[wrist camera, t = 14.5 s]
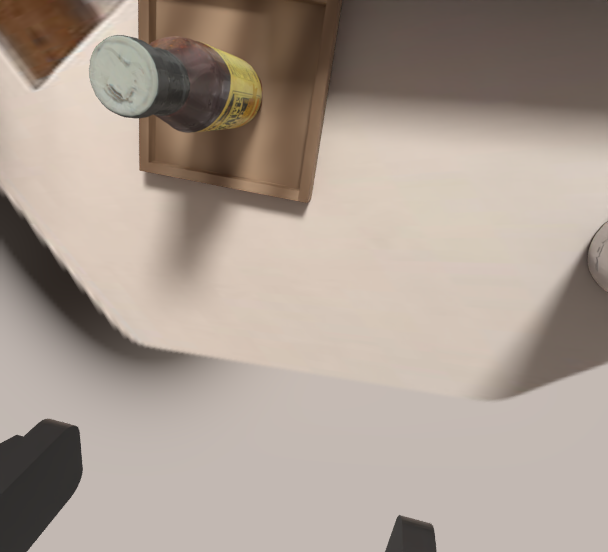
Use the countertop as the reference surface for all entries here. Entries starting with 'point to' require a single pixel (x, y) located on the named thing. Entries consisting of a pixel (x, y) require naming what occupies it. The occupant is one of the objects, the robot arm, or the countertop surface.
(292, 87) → the walnut tray
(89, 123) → the countertop surface
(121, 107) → the sauce bottle
